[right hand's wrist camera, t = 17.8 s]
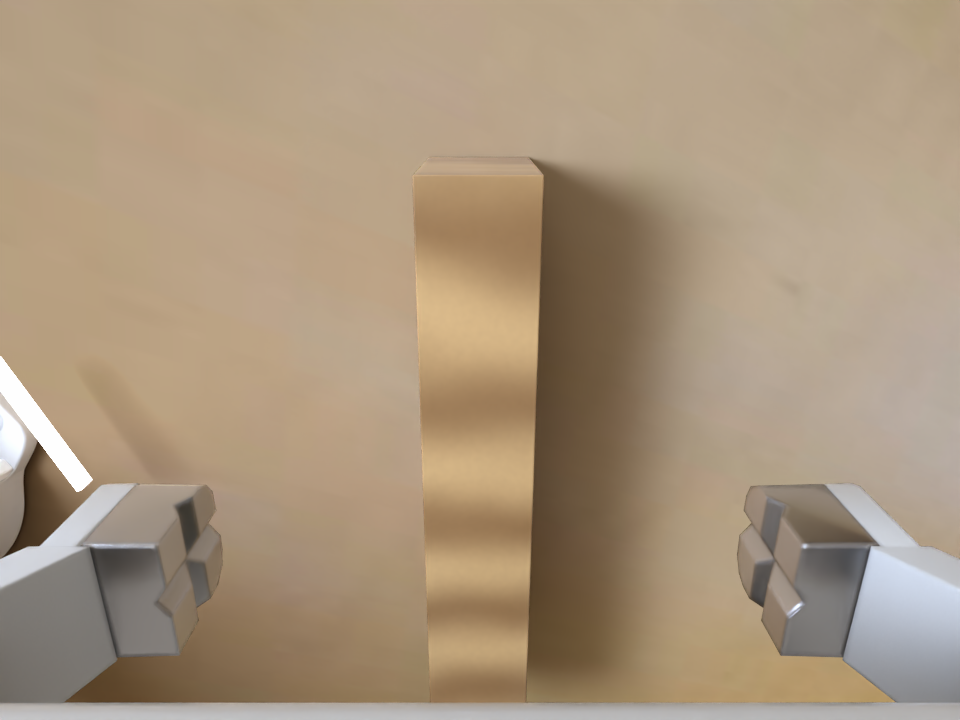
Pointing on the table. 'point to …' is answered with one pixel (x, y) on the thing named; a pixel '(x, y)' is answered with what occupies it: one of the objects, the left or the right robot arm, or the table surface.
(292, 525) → the table surface
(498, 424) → the bar
